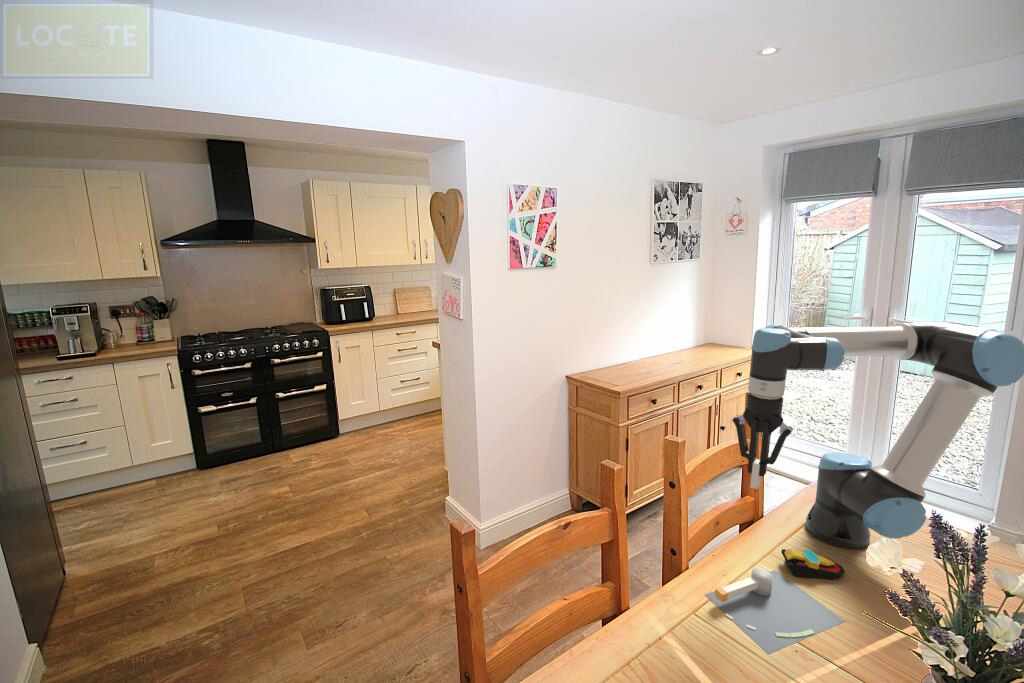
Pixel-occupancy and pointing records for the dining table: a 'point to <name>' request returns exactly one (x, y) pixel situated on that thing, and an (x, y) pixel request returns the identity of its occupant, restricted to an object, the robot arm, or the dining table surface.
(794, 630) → the dial board
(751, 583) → the white mallet
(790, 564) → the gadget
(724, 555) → the dining table surface
